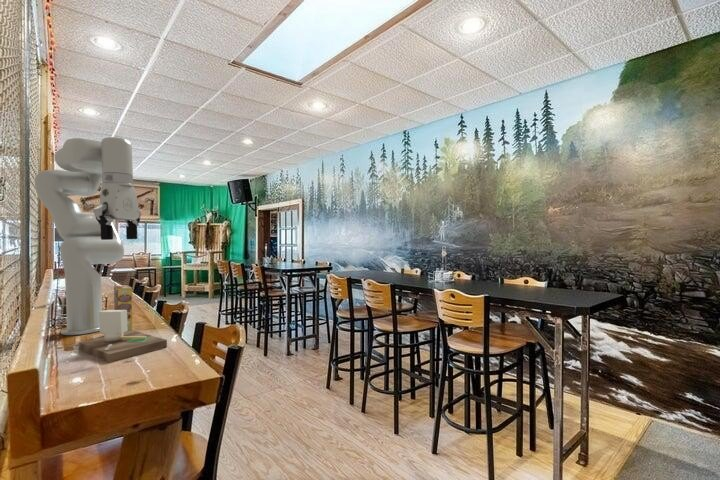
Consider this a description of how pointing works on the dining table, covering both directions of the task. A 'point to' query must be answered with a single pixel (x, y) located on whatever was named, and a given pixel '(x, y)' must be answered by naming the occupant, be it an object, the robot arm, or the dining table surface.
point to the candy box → (124, 302)
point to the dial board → (122, 346)
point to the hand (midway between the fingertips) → (120, 239)
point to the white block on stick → (115, 325)
